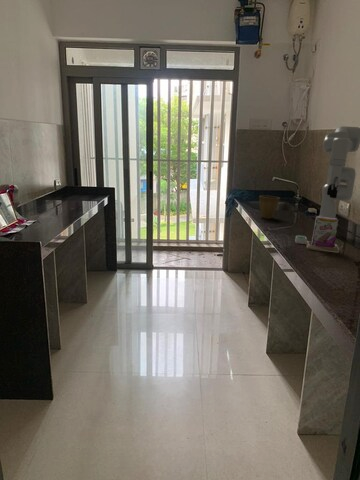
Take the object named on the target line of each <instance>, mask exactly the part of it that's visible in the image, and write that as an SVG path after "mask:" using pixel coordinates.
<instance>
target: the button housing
mask: <svg viewBox="0 0 360 480" xmlns="http://www.w3.org/2000/svg"><path fill="white" fill-rule="evenodd" d="M306 241H308V239H307V236H305V239H304V238H298V235H295V238H294V242H295V244H302V245H306Z"/></svg>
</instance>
